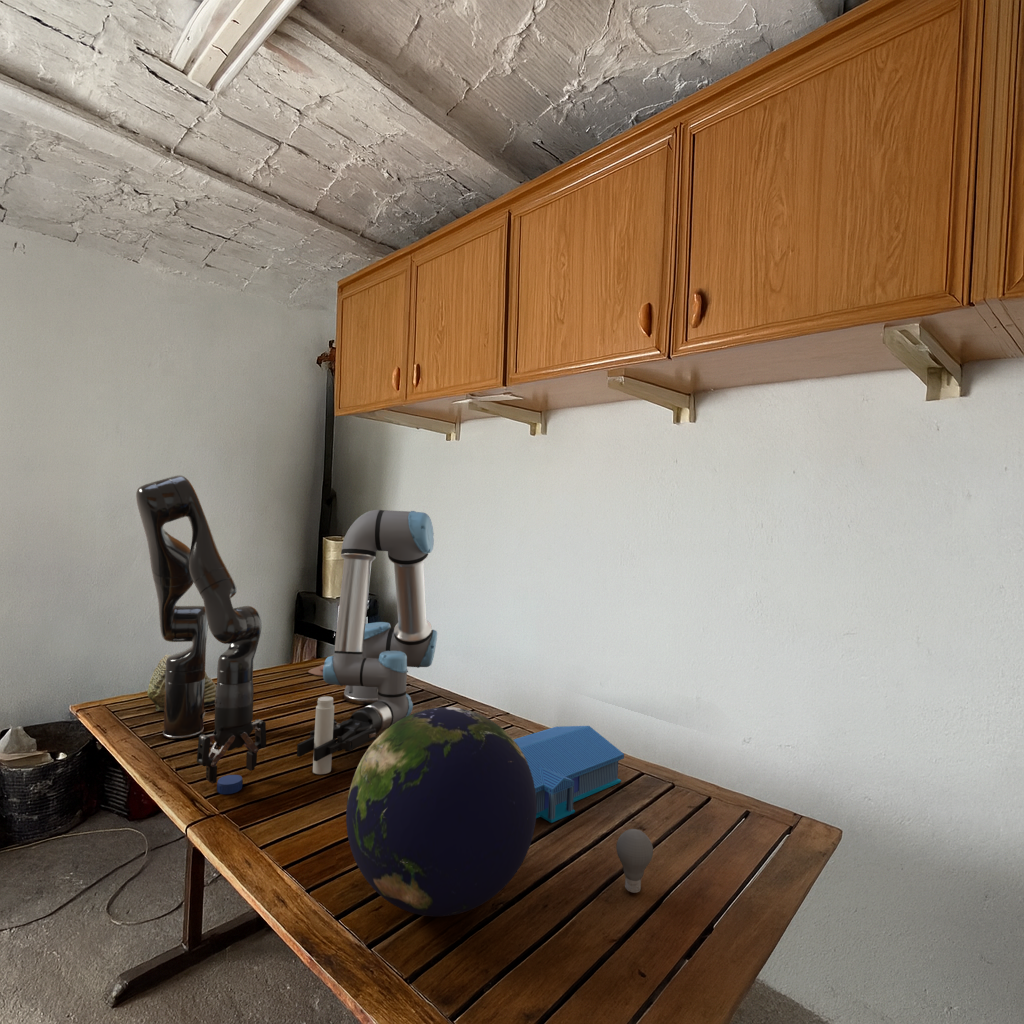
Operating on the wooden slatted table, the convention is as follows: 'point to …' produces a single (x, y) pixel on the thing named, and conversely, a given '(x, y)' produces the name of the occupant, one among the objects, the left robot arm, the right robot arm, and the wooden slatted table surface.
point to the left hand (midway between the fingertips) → (231, 775)
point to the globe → (441, 811)
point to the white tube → (323, 732)
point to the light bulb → (634, 857)
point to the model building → (568, 767)
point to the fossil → (158, 687)
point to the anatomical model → (317, 670)
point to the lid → (229, 784)
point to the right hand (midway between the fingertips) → (307, 752)
